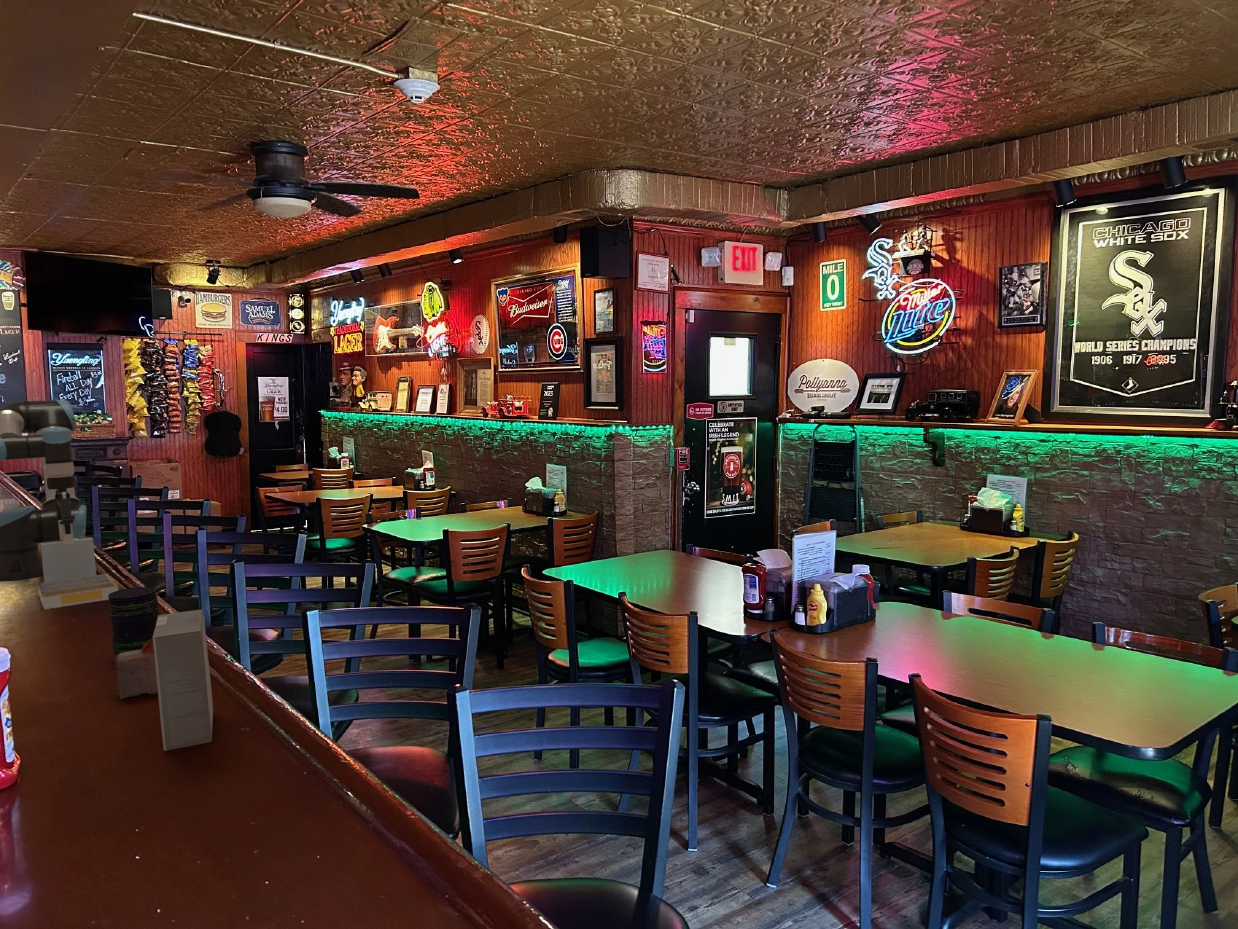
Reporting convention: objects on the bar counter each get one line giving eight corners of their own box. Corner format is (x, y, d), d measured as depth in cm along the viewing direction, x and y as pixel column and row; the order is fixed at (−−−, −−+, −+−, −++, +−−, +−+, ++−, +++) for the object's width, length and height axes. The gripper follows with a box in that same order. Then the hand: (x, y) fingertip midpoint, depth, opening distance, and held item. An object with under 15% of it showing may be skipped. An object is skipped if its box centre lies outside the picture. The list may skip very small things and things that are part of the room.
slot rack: (38, 594, 262) (37, 582, 262) (108, 584, 274) (107, 573, 273) (44, 610, 243) (42, 597, 243) (119, 598, 254) (118, 586, 254)
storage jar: (107, 664, 191) (101, 599, 189) (120, 651, 200) (114, 589, 199) (156, 659, 193) (151, 594, 192) (167, 647, 203) (161, 585, 201)
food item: (189, 676, 181) (185, 631, 180) (196, 687, 175) (192, 640, 174) (115, 692, 173) (111, 644, 172) (119, 703, 167) (114, 654, 166)
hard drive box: (167, 720, 157) (158, 614, 155) (213, 712, 160) (205, 608, 158) (162, 752, 143) (151, 636, 141) (212, 743, 146) (203, 629, 144)
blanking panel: (44, 586, 274) (40, 543, 273) (95, 579, 283) (91, 537, 282) (45, 589, 271) (41, 545, 269) (97, 581, 279) (93, 539, 278)
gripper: (43, 475, 281) (50, 539, 283) (49, 479, 261) (56, 548, 263) (70, 473, 285) (76, 536, 287) (78, 477, 266) (84, 544, 267)
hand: (66, 541), depth 275 cm, fingers open, 13 cm apart
